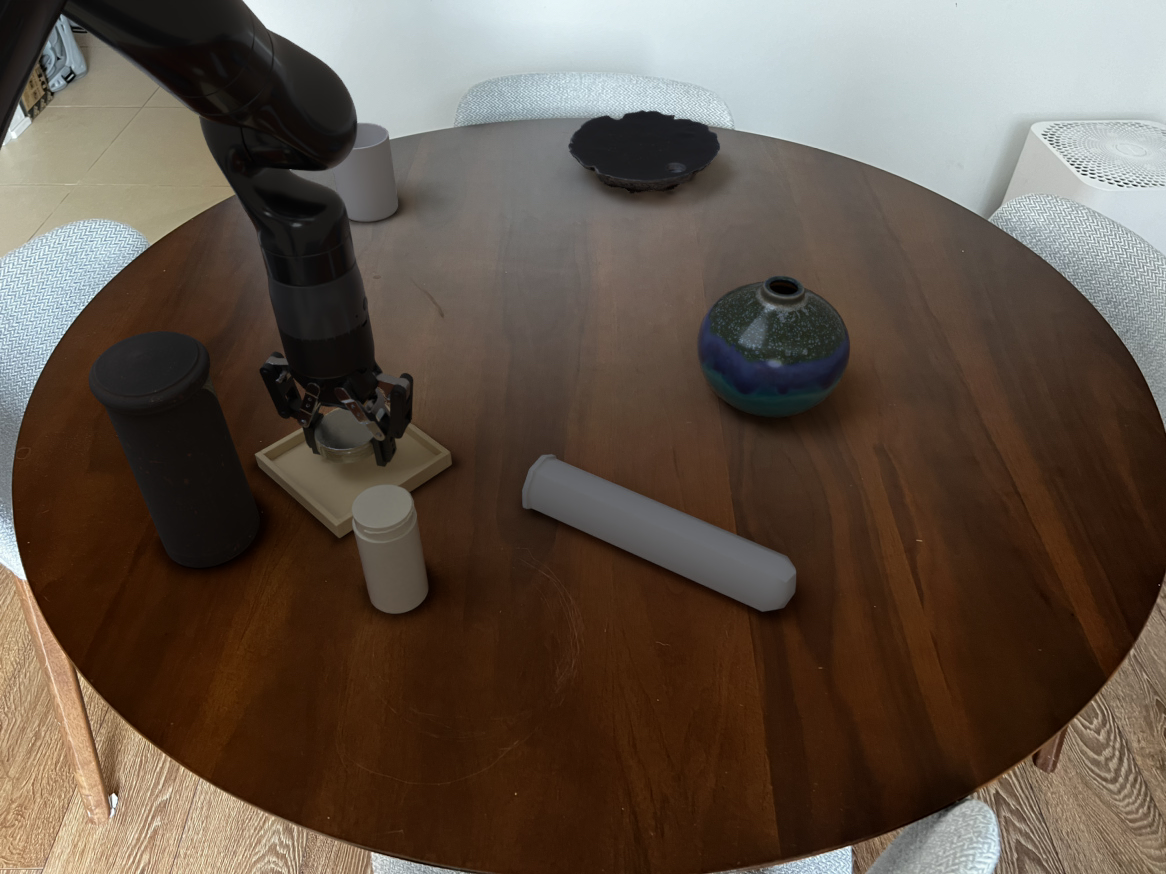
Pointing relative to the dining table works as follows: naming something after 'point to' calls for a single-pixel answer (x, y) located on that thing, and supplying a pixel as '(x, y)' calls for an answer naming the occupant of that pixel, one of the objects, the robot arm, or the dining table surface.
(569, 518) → the tube
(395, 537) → the jar
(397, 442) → the tray
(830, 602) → the dining table surface
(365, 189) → the mug
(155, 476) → the container
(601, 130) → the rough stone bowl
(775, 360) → the vase
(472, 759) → the dining table surface
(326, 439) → the lid
